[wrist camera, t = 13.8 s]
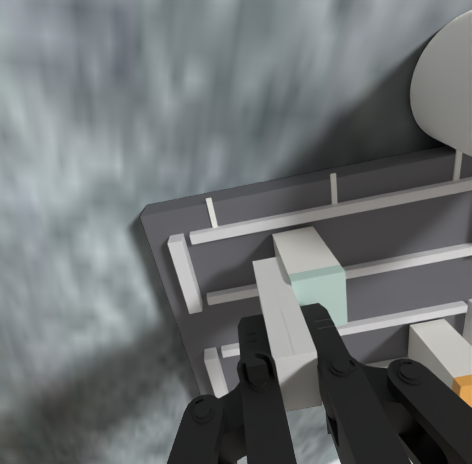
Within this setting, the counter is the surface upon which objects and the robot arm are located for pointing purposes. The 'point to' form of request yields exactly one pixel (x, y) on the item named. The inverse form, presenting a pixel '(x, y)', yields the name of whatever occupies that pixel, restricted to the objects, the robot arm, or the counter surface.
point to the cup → (446, 85)
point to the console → (340, 244)
